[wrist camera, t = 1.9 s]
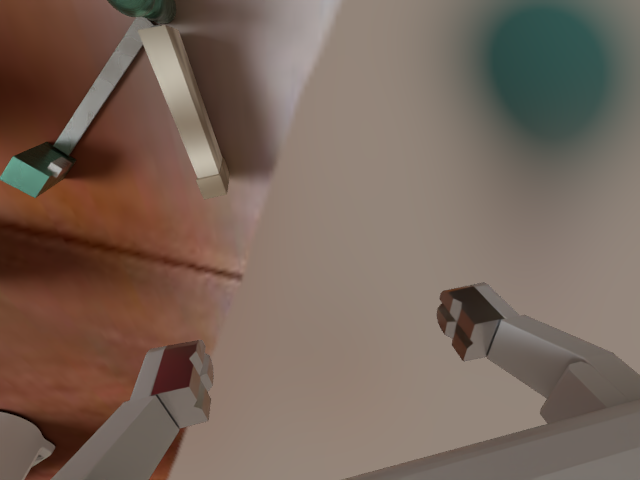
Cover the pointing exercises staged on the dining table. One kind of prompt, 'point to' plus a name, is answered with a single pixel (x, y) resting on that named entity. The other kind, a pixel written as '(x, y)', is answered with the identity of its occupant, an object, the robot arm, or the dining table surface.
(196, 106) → the grey rectangular bar
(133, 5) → the hinge post
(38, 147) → the dark green brushed box
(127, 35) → the grey metal rod
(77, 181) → the dining table surface
